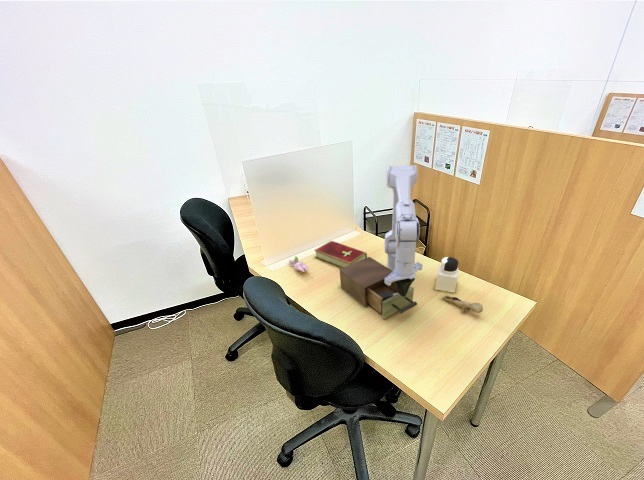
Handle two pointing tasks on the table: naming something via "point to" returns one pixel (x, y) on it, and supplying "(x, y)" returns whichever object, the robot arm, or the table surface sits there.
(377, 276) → the cabinet
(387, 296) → the black block with tip
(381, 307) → the drawer
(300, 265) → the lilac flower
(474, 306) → the figurine
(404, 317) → the table surface
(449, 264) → the ball on square pedestal
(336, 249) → the hardcover book
